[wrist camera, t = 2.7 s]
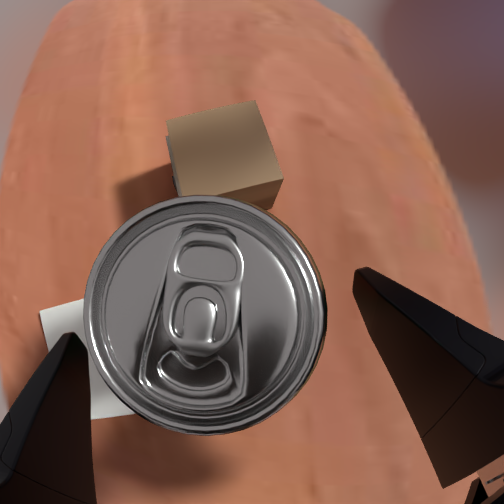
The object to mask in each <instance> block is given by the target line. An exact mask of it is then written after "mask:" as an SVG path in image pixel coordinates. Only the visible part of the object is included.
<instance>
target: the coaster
mask: <svg viewBox="0 0 504 504" xmlns="http://www.w3.org/2000/svg"><path fill="white" fill-rule="evenodd" d="M83 307H84V299H81V300H77V301H74V302H70V303H67V304H63V305H59V306H56V307H52V308H48V309H45V310H41V311H40V316H41V321H42V325H43V330H44V334H45V338H46V342H47V346H48V350H49V352H50V350H51V349H52V348H53V346H54V345H55V344H56V342H57V341H58V340H59V338H60V337H61V336H62V334H64V333H68V332H75V333H76V334H77V335H78V337H79V338H80V339H81V341H82V342H83V343H84V345H85V346H86V348H87V350H88V358H89V376H90V389H91V419H99V418H108V417H115V416H122V415H129V414H136V413H134V412H133V411H132V410H131V409H129V408H128V407H127V406H126V405H125V404H123V403H122V402H121V401H120V400H119V399H118V398H117V397H116V395H115V394H114V393H113V392H112V391H111V390H110V389H109V387H108V386H107V385H106V383H105V382H104V380H103V378H102V377H101V375H100V374H99V372H98V370H97V368H96V366H95V364H94V362H93V359H92V357H91V355H90V352H89V348H88V344H87V341H86V337H85V330H84V321H83Z"/></svg>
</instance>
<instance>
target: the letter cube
mask: <svg viewBox="0 0 504 504" xmlns="http://www.w3.org/2000/svg"><path fill="white" fill-rule="evenodd" d="M166 124H167V129H168V134H169V136H166V140H167V145H168V150H169V155H170V160H171V164H172V169H173V173H174V176H172V178H173V183H174V186H175V188H176V191H177V193H178V196H179V197H181V196H189V195H220V196H226V197H231V198H236V199H240V200H243V201H245V202H248V203H251V204H254V205H256V206H258V207H260V208H262V209H264V210H267V209H271V208H272V206H273V204H274V201H275V199H276V197H277V194H278V192H279V189H280V187H281V184H282V182H283V179H284V177H283V175H282V172H281V169H280V166H279V163H278V160H277V158H276V155H275V152H274V149H273V146H272V144H271V141H270V138H269V136H268V133H267V130H266V127H265V125H264V122H263V119H262V117H261V114H260V112H259V109H258V106H257V104H256V101H255V100H254V101H248V102H243V103H238V104H233V105H228V106H223V107H219V108H214V109H210V110H206V111H201V112H197V113H193V114H189V115H185V116H181V117H178V118H174V119H170V120H167V121H166Z"/></svg>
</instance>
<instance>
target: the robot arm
mask: <svg viewBox="0 0 504 504" xmlns="http://www.w3.org/2000/svg"><path fill="white" fill-rule="evenodd" d="M353 295H354V298H355V300H356V303H357V305H358V308H359V310H360V312H361V315H362V317H363V320H364V322H365V325H366V327H367V330H368V332H369V335H370V337H371V339H372V341H373V342H374V344H375V346H376V348H377V350H378V352H379V354H380V356H381V358H382V360H383V362H384V364H385V365H386V367H387V369H388V371H389V373H390V375H391V377H392V379H393V381H394V383H395V385H396V387H397V389H398V391H399V393H400V395H401V397H402V399H403V401H404V404H405V406H406V408H407V410H408V412H409V414H410V416H411V418H412V420H413V422H414V425H415V427H416V429H417V431H418V433H419V435H420V438H422V439H421V440H422V442H423V444H424V447H425V449H426V451H427V453H428V456H429V458H430V460H431V463H432V465H433V467H434V470H435V472H436V474H437V477H438V479H439V481H440V484H441V486H442V488H443V489H444V488H446V487H448V486H450V485H452V484H454V483H456V482H458V481H460V480H461V479H463V478H465V477H467V476H469V475H471V474H473V473H474V472H476V471H477V473H478V475H479V477H478V478H477V479H475V480H474V481H472V483H471V486H470V489H469V492H468V495H467V498H466V501H465V503H464V504H504V341H503V340H501V339H499V338H497V337H495V336H493V335H491V334H489V333H487V332H485V331H483V330H481V329H479V328H477V327H475V326H473V325H472V324H470V323H468V322H466V321H464V320H463V319H461V318H459V317H458V316H456V317H455V315H454V314H452V313H450V312H449V311H447V310H445V309H444V308H442V307H440V306H438V305H437V304H435V303H433V302H431V301H429V300H428V299H426V298H424V297H422V296H421V295H419V294H417V293H415V292H413V291H412V290H410V289H408V288H406V287H404V286H403V285H401V284H399V283H397V282H395V281H393V280H392V279H390V278H388V277H386V276H384V275H382V274H380V273H379V272H377V271H375V270H373V269H371V268H369V267H363V268H359V269H357V270H355V273H354V280H353ZM0 504H97V501H96V493H95V484H94V473H93V459H92V441H91V389H90V376H89V358H88V350H87V348H86V346H85V345H84V343H83V342H82V341H81V339H80V338H79V337H78V335H77V334H76V333H75V332H68V333H64V334H62V336H61V337H60V338H59V340H58V341H57V342H56V344H55V345H54V346H53V348H52V349H51V350H50V352H49V353H48V354H47V356H46V357H45V358H44V360H43V361H42V363H41V364H40V365H39V367H38V368H37V370H36V371H35V372H34V374H33V375H32V377H31V378H30V380H29V381H28V383H27V384H26V386H25V387H24V388H23V390H22V391H21V393H20V394H19V396H18V397H17V399H16V400H15V402H14V404H13V405H12V407H11V408H10V410H9V412H8V413H7V414H6V416H5V418H4V419H3V421H2V422H1V424H0Z"/></svg>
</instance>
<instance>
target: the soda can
mask: <svg viewBox="0 0 504 504" xmlns="http://www.w3.org/2000/svg"><path fill="white" fill-rule="evenodd" d="M83 321H84V330H85V337H86V341H87V344H88V348H89V352H90V355H91V357H92V359H93V362H94V364H95V366H96V368H97V370H98V372H99V374H100V375H101V377H102V378H103V380H104V382H105V383H106V385H107V386H108V387H109V389H110V390H111V391H112V392H113V393H114V394H115V395H116V397H117V398H118V399H119V400H120V401H121V402H122V403H123V404H125V405H126V406H127V407H128V408H129V409H131V410H132V411H133V412H134V413H136V414H137V415H139V416H141V417H142V418H144V419H146V420H147V421H149V422H151V423H153V424H155V425H158V426H160V427H163V428H165V429H168V430H171V431H175V432H179V433H183V434H189V435H201V436H211V435H223V434H228V433H233V432H237V431H241V430H244V429H247V428H249V427H251V426H254V425H256V424H259V423H261V422H263V421H264V420H266V419H267V418H269V417H271V416H272V415H274V414H275V413H277V412H278V411H279V410H280V409H282V408H283V407H284V406H285V405H286V404H287V403H289V402H290V401H291V400H292V399H293V398H294V397H295V396H296V395H297V394H298V393H299V391H300V390H301V389H302V388H303V386H304V385H305V384H306V383H307V381H308V380H309V378H310V376H311V374H312V373H313V371H314V369H315V367H316V365H317V363H318V360H319V358H320V355H321V352H322V349H323V346H324V341H325V336H326V331H327V302H326V294H325V289H324V286H323V282H322V279H321V275H320V272H319V270H318V268H317V266H316V264H315V262H314V260H313V258H312V256H311V254H310V253H309V251H308V250H307V248H306V247H305V245H304V244H303V242H302V241H301V240H300V239H299V237H298V236H297V235H296V234H295V233H294V232H293V231H292V230H291V229H290V228H289V227H288V226H287V225H286V224H284V223H283V222H282V221H281V220H279V219H278V218H277V217H275V216H274V215H273V214H271V213H269V212H267V211H265V210H264V209H262V208H260V207H258V206H256V205H254V204H251V203H248V202H245V201H243V200H240V199H236V198H231V197H226V196H220V195H189V196H181V197H176V198H172V199H169V200H165V201H162V202H159V203H157V204H154V205H152V206H150V207H148V208H146V209H144V210H142V211H140V212H139V213H137V214H136V215H134V216H133V217H132V218H130V219H129V220H127V221H126V222H125V223H124V224H123V225H122V226H121V227H120V228H119V229H118V230H116V231H115V232H114V233H113V235H112V236H111V237H110V239H109V240H108V241H107V242H106V244H105V245H104V246H103V248H102V249H101V251H100V253H99V255H98V257H97V258H96V260H95V262H94V264H93V267H92V270H91V272H90V275H89V278H88V281H87V285H86V290H85V295H84V307H83Z"/></svg>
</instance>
